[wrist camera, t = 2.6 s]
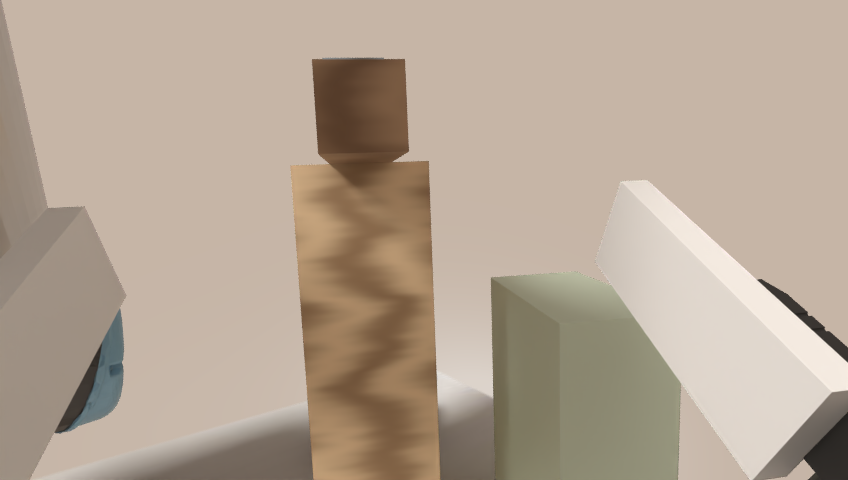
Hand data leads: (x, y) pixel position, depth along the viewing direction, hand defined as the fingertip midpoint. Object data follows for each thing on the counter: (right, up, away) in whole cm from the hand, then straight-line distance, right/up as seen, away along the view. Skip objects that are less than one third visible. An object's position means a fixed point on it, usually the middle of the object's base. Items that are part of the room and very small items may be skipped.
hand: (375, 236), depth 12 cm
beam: (-3, +5, +20) cm, 21 cm away
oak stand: (-3, -24, +28) cm, 37 cm away
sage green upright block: (+13, -24, +25) cm, 37 cm away
